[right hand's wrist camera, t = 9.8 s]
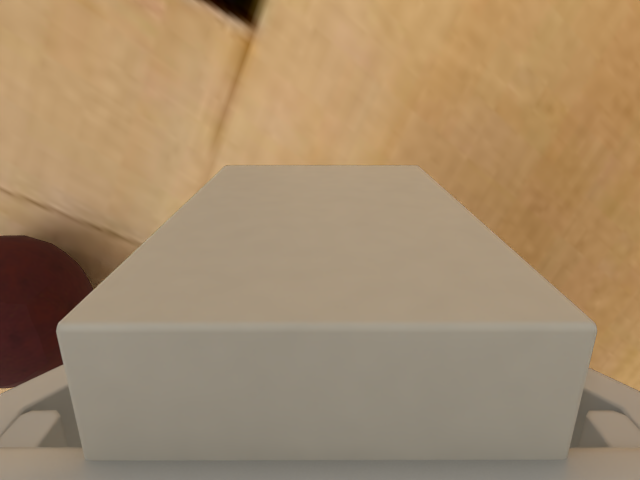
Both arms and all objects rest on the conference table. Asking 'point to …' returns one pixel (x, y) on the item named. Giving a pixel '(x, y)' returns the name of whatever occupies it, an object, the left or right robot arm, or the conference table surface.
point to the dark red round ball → (34, 305)
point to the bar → (325, 330)
